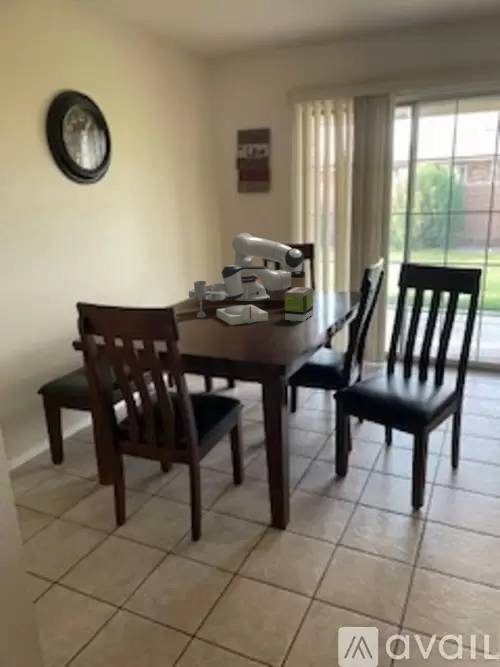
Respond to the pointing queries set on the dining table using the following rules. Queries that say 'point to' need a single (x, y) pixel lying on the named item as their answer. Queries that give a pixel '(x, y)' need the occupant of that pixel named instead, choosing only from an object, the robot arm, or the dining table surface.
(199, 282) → the chalice
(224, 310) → the dial scale
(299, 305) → the tea box
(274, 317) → the dining table surface
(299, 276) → the travel mug
